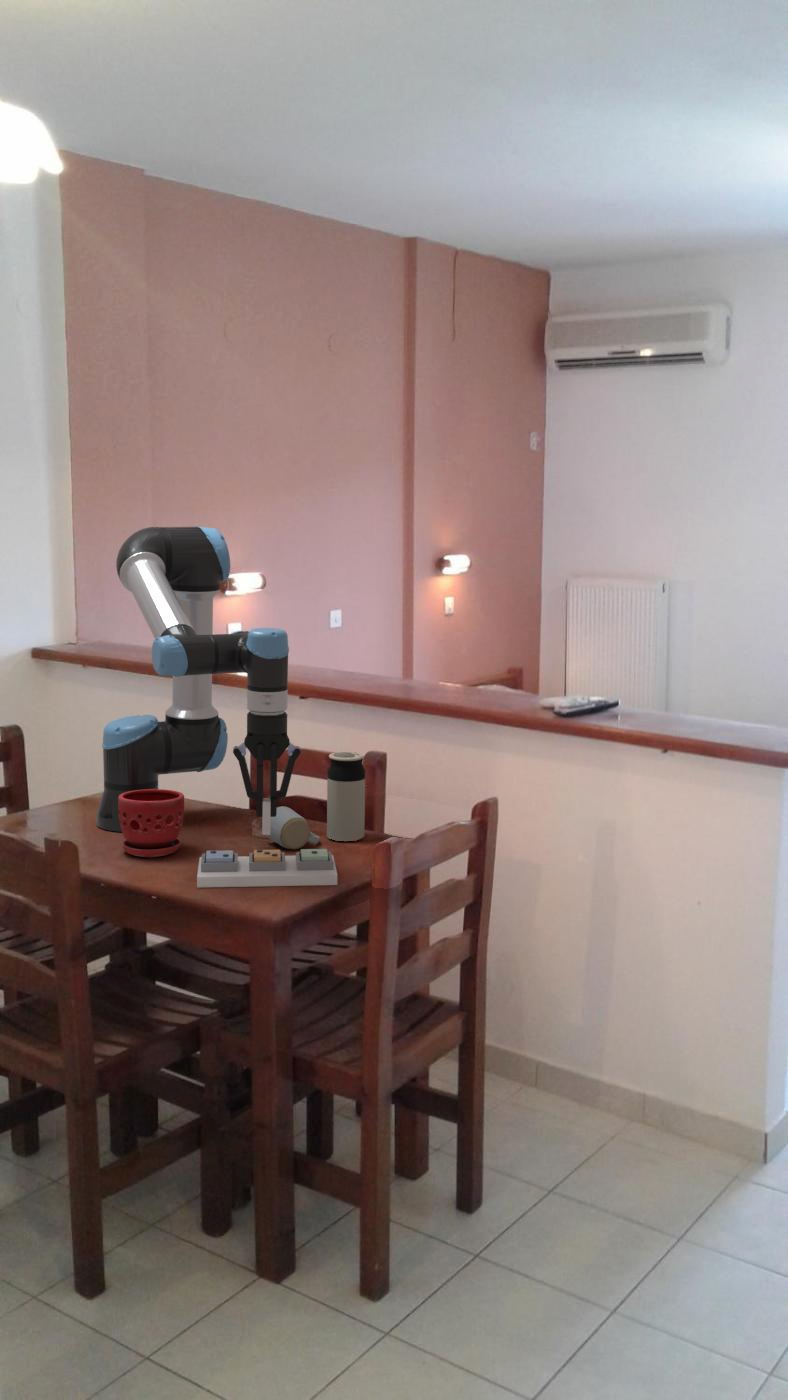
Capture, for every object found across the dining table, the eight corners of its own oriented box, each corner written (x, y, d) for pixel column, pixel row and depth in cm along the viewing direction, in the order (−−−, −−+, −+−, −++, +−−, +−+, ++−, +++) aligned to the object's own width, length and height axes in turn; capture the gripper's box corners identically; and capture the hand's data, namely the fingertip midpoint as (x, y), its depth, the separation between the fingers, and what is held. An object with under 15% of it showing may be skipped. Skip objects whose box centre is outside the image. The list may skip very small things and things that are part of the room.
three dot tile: (253, 860, 244) (253, 849, 243) (280, 859, 244) (280, 848, 244) (254, 867, 239) (254, 856, 239) (280, 867, 239) (280, 856, 239)
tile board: (199, 866, 247) (199, 849, 246) (332, 864, 250) (333, 847, 249) (197, 887, 234) (196, 868, 234) (337, 884, 237) (337, 866, 237)
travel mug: (329, 843, 265) (329, 759, 262) (324, 833, 273) (325, 751, 270) (366, 842, 266) (368, 758, 263) (361, 832, 274) (362, 750, 271)
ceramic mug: (280, 853, 257) (281, 816, 256) (263, 843, 264) (263, 807, 263) (326, 847, 263) (327, 811, 261) (308, 838, 269) (309, 802, 268)
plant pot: (193, 856, 254) (192, 798, 252) (128, 863, 248) (127, 804, 246) (174, 839, 266) (173, 784, 264) (112, 846, 260) (110, 789, 258)
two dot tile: (206, 860, 243) (206, 849, 242) (233, 860, 243) (232, 849, 243) (205, 868, 238) (205, 857, 237) (232, 868, 238) (232, 856, 238)
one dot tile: (300, 859, 245) (300, 848, 244) (326, 858, 245) (326, 847, 245) (301, 866, 240) (301, 855, 240) (328, 866, 240) (328, 855, 240)
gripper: (231, 715, 232) (231, 838, 237) (302, 715, 234) (301, 838, 238) (232, 707, 240) (232, 827, 244) (301, 707, 241) (299, 827, 245)
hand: (266, 832), depth 241 cm, fingers closed
